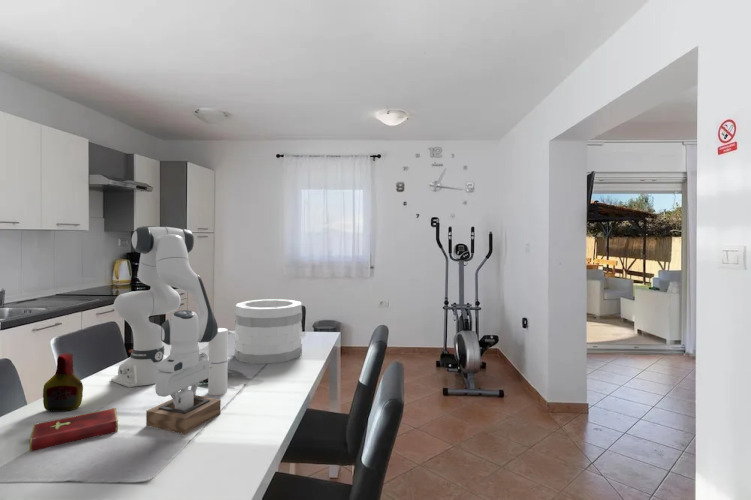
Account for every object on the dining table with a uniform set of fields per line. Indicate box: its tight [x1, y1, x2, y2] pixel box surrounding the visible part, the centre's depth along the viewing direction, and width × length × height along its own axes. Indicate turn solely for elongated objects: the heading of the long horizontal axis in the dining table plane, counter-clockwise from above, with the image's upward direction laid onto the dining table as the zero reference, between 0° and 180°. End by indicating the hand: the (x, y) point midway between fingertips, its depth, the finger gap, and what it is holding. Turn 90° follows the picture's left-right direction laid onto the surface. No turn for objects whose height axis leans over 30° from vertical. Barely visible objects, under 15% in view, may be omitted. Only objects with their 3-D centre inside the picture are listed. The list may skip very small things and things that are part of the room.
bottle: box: [42, 352, 84, 412], centre depth 140 cm, size 12×6×20 cm, turn 97°
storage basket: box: [234, 298, 303, 365], centre depth 212 cm, size 35×35×27 cm
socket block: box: [145, 394, 222, 435], centre depth 134 cm, size 16×16×6 cm
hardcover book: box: [29, 407, 119, 453], centre depth 123 cm, size 12×21×4 cm, turn 126°
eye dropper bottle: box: [175, 387, 194, 411], centre depth 133 cm, size 4×6×12 cm
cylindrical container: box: [207, 327, 229, 396], centre depth 158 cm, size 7×7×25 cm
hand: (184, 400), depth 133 cm, fingers closed on eye dropper bottle, 5 cm apart
